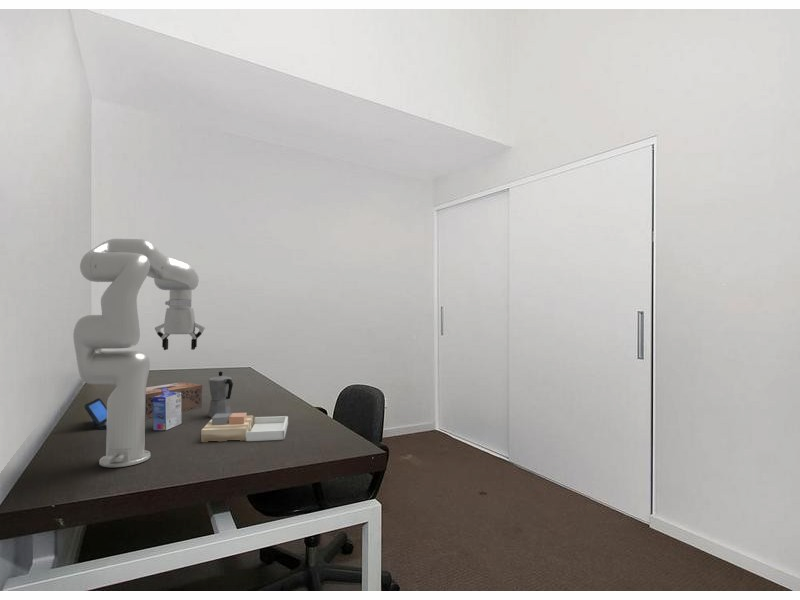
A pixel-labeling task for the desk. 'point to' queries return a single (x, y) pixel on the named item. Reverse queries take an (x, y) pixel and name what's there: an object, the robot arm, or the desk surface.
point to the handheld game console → (97, 413)
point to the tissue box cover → (189, 391)
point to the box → (268, 428)
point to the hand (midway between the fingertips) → (179, 349)
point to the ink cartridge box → (166, 410)
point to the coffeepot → (220, 394)
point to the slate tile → (221, 419)
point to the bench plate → (226, 431)
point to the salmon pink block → (237, 418)
